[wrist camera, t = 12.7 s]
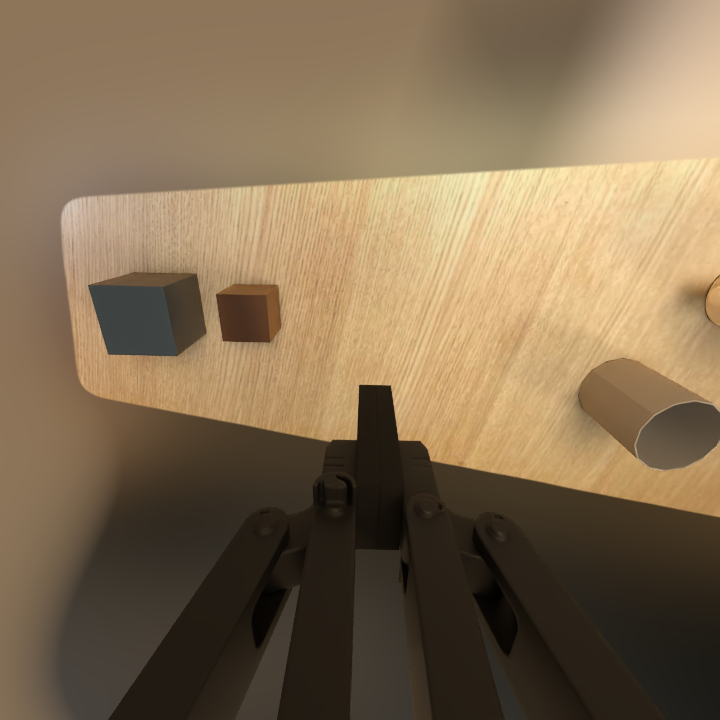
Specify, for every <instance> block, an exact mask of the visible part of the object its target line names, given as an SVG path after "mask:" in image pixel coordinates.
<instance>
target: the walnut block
mask: <svg viewBox="0 0 720 720" xmlns="http://www.w3.org/2000/svg"><path fill="white" fill-rule="evenodd" d="M216 297H217V304H218V310H219V317H220V324H221V331H222V338H223V341H231V342H271V341H272V339H273V338H274V337H275V335H276V334H277V332H278V331H279V330H280V328H281V321H280V307H279V293H278V285H245V284H233V285H232V286H230V287H228V288H226V289H225V290H223V291H221V292H219V293H217V294H216Z"/></svg>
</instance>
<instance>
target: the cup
mask: <svg viewBox="0 0 720 720" xmlns="http://www.w3.org/2000/svg"><path fill="white" fill-rule="evenodd" d="M578 396H579V400H580V403H581V407H582V408H583V409H584V410H585V411H586V412H587V413H588V414H589V415H590V416H591V417H593V418H594V419H595V420H596V421H597V422H598V423H599V424H600V425H601V426H602V427H603V428H605V429H606V430H607V431H608V432H609V433H610V434H611V435H612V436H613V437H614V438H615V439H616V440H618V441H619V442H620V443H621V444H622V445H623V446H624V447H625V448H626V449H627V450H628V451H629V452H631V453H632V454H633V455H634V456H635V457H636V458H637V459H638V460H639V461H641V462H642V463H643V464H644V465H645V466H647V467H648V468H651V469H656V470H661V471H670V470H676V469H682V468H686V467H688V466H690V465H692V464H694V463H696V462H698V461H700V460H702V459H704V458H705V457H706V456H707V455H708V454H709V453H711V452H712V451H713V450H714V449H715V448H716V447H717V446H718V445H719V443H720V410H719V409H718V408H717V407H716V406H715V405H714V404H713V403H711V402H709V401H707V400H706V399H704V398H702V397H700V396H699V395H697V394H695V393H693V392H691V391H690V390H688V389H686V388H684V387H682V386H681V385H679V384H677V383H675V382H674V381H672V380H670V379H668V378H666V377H665V376H663V375H661V374H659V373H658V372H656V371H654V370H652V369H650V368H649V367H647V366H645V365H643V364H641V363H640V362H638V361H634V360H629V359H624V358H622V359H617V360H612V361H607V362H605V363H604V364H602V365H600V366H598V367H597V368H595V369H593V370H592V371H591V372H590V373H589V375H588V376H587V377H586V378H585V380H584V381H583V382H582V384H581V388H580V392H579V395H578Z"/></svg>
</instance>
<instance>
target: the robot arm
mask: <svg viewBox="0 0 720 720" xmlns="http://www.w3.org/2000/svg"><path fill="white" fill-rule="evenodd" d="M313 498H314V504H313V505H312V506H310V507H309V508H307V509H306V510H304V511H301V512H298V513H295V514H291V515H286V513H285V512H284V511H283V510H281V509H278V508H276V507H266V508H262V509H259V510H257V511H255V512H253V513H252V514H251V515H250V516H249V517H248V518H247V519H246V520H245V522H244V523H243V524H242V526H241V527H240V529H239V530H238V532H237V533H236V535H235V536H234V538H233V539H232V540H231V542H230V544H229V545H228V546H227V548H226V549H225V551H224V552H223V554H222V555H221V556H220V558H219V559H218V561H217V562H216V564H215V565H214V567H213V568H212V569H211V571H210V573H209V574H208V575H207V577H206V578H205V580H204V581H203V583H202V584H201V586H200V587H199V588H198V590H197V591H196V593H195V594H194V596H193V597H192V599H191V600H190V602H189V603H188V605H187V606H186V607H185V609H184V610H183V612H182V613H181V615H180V616H179V618H178V619H177V620H176V622H175V623H174V625H173V626H172V628H171V629H170V631H169V632H168V634H167V635H166V636H165V638H164V639H163V641H162V642H161V644H160V645H159V647H158V648H157V650H156V651H155V652H154V654H153V656H152V657H151V658H150V660H149V661H148V663H147V664H146V666H145V667H144V668H143V670H142V671H141V673H140V674H139V676H138V678H137V679H136V680H135V682H134V683H133V684H132V686H131V687H130V689H129V690H128V692H127V693H126V695H125V696H124V698H123V699H122V700H121V702H120V703H119V705H118V706H117V708H116V710H115V711H114V712H113V714H112V715H111V717H110V718H109V719H108V720H235V718H236V716H237V714H238V711H239V709H240V707H241V705H242V702H243V700H244V698H245V695H246V693H247V691H248V689H249V686H250V684H251V681H252V679H253V677H254V675H255V673H256V670H257V668H258V666H259V664H260V661H261V659H262V657H263V654H264V652H265V650H266V648H267V645H268V643H269V641H270V638H271V636H272V634H273V631H274V629H275V627H276V625H277V622H278V620H279V618H280V616H281V613H282V611H283V609H284V606H285V604H286V602H287V600H288V597H289V595H290V593H291V591H292V587H293V586H297V585H300V590H299V596H298V601H297V607H296V613H295V618H294V624H293V630H292V636H291V642H290V647H289V653H288V659H287V665H286V671H285V676H284V682H283V688H282V694H281V700H280V706H279V711H278V717H277V720H351V691H352V653H353V618H354V584H355V581H354V580H355V549H377V550H399V547H400V549H401V561H400V571H399V582H402V593H403V604H404V615H405V626H406V637H407V647H408V658H409V669H410V680H411V691H412V701H413V712H414V720H505V719H504V715H503V712H502V708H501V704H500V701H499V697H498V693H497V689H496V686H495V682H494V678H493V675H492V671H491V668H490V664H489V660H488V656H487V652H486V649H485V645H484V641H483V637H482V634H481V630H480V626H479V623H480V625H481V627H482V629H483V631H484V633H485V635H486V637H487V639H488V641H489V643H490V645H491V647H492V649H493V651H494V653H495V655H496V657H497V659H498V661H499V663H500V665H501V667H502V669H503V671H504V673H505V675H506V677H507V679H508V681H509V684H510V685H511V687H512V690H513V692H514V694H515V696H516V698H517V700H518V702H519V704H520V706H521V708H522V710H523V712H524V714H525V716H526V718H527V720H666V719H665V717H664V716H663V715H662V713H661V712H660V711H659V709H658V708H657V707H656V705H655V704H654V703H653V701H652V700H651V699H650V698H649V696H648V695H647V694H646V693H645V691H644V690H643V688H642V687H641V686H640V685H639V683H638V682H637V681H636V679H635V678H634V677H633V675H632V674H631V673H630V671H629V670H628V669H627V668H626V666H625V665H624V664H623V662H622V661H621V660H620V658H619V657H618V656H617V655H616V653H615V652H614V651H613V649H612V648H611V647H610V645H609V644H608V643H607V641H606V640H605V639H604V637H603V636H602V635H601V634H600V632H599V631H598V630H597V628H596V627H595V626H594V624H593V623H592V622H591V620H590V619H589V618H588V617H587V615H586V614H585V613H584V611H583V610H582V609H581V607H580V606H579V605H578V603H577V602H576V601H575V600H574V598H573V597H572V596H571V594H570V593H569V592H568V591H567V589H566V588H565V586H564V585H563V584H562V583H561V581H560V580H559V579H558V577H557V576H556V575H555V573H554V572H553V571H552V569H551V568H550V567H549V566H548V564H547V563H546V562H545V560H544V559H543V558H542V556H541V555H540V554H539V552H538V551H537V550H536V549H535V547H534V546H533V544H532V543H531V542H530V541H529V539H528V538H527V537H526V535H525V534H524V533H523V532H522V530H521V529H520V528H519V526H518V525H517V524H516V523H515V522H514V521H513V520H511V519H510V518H508V517H506V516H505V515H503V514H499V513H496V512H485V513H483V514H480V515H479V516H478V517H477V519H476V520H474V519H470V518H467V517H463V516H461V515H458V514H456V513H454V512H452V511H450V510H449V509H448V508H447V507H446V505H445V503H444V502H443V501H442V500H441V499H440V496H439V493H438V489H437V485H436V481H435V477H434V473H433V469H432V465H431V461H430V457H429V453H428V450H427V448H426V447H425V446H424V445H423V444H422V443H421V441H398V434H397V426H396V419H395V412H394V405H393V398H392V391H391V386H385V385H359V406H358V431H357V440H332V441H331V443H330V444H329V445H328V446H327V448H326V453H325V460H324V466H323V471H322V475H321V476H320V477H318V478H317V479H316V480H315V482H314V485H313ZM478 620H479V623H478Z"/></svg>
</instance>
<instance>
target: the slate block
mask: <svg viewBox="0 0 720 720" xmlns="http://www.w3.org/2000/svg"><path fill="white" fill-rule="evenodd" d="M88 287H89V290H90V293H91V297H92V300H93V304H94V307H95V311H96V314H97V317H98V321H99V324H100V328H101V331H102V335H103V338H104V341H105V345H106V348H107V352H108V354H109V355H151V356H178V355H179V354H181V353H182V352H183V351H184V350H186V349H187V348H188V347H190V346H191V345H192V344H193V343H195V342H196V341H197V340H199V339H200V338H201V337H202V336H204V335H205V334H206V328H205V322H204V316H203V310H202V304H201V298H200V292H199V286H198V280H197V274H178V273H131V274H127V275H123V276H120V277H116V278H112V279H109V280H105V281H101V282H98V283H94V284H90V285H88Z"/></svg>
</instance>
